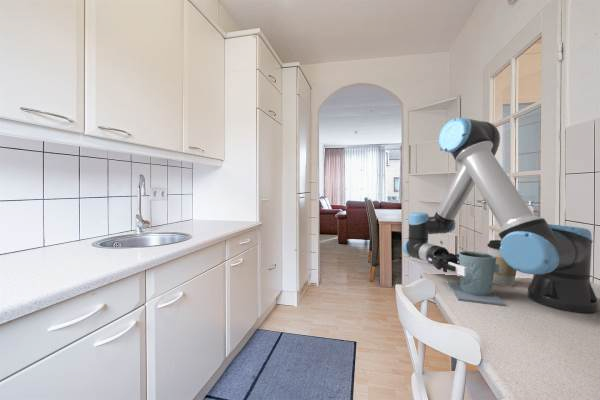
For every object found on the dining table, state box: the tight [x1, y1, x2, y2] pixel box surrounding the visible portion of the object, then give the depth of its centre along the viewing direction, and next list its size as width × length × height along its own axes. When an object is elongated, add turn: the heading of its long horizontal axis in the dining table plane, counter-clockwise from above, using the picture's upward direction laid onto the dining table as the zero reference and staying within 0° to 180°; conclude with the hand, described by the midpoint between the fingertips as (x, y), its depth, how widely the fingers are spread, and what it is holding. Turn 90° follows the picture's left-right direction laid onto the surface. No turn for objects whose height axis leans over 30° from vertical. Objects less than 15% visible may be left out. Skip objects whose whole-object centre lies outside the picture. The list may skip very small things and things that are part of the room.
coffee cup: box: [487, 239, 518, 287], centre depth 97 cm, size 10×10×15 cm
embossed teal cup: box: [458, 250, 496, 296], centre depth 88 cm, size 10×10×12 cm
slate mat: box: [447, 281, 506, 307], centre depth 88 cm, size 12×16×1 cm
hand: (483, 270), depth 84 cm, fingers open, 13 cm apart
